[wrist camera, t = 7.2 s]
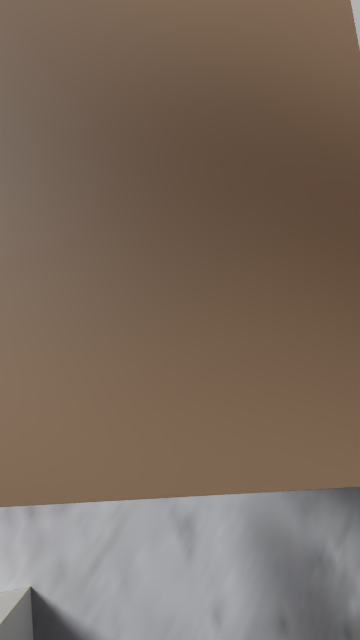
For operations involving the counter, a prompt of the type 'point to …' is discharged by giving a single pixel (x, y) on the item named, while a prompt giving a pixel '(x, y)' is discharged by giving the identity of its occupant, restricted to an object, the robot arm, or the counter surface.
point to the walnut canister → (178, 248)
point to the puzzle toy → (16, 615)
